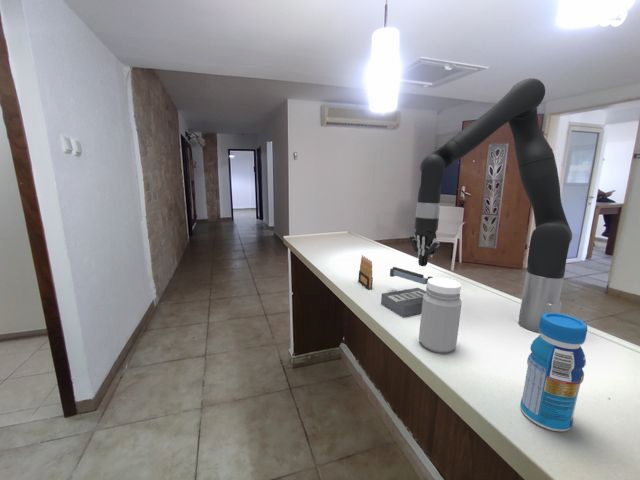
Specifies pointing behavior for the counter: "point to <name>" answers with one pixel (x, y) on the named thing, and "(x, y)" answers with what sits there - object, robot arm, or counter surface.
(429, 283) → the jar
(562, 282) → the robot arm
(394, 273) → the bar
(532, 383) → the beverage bottle
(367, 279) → the ammunition clip
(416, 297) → the grey block
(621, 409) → the counter surface
